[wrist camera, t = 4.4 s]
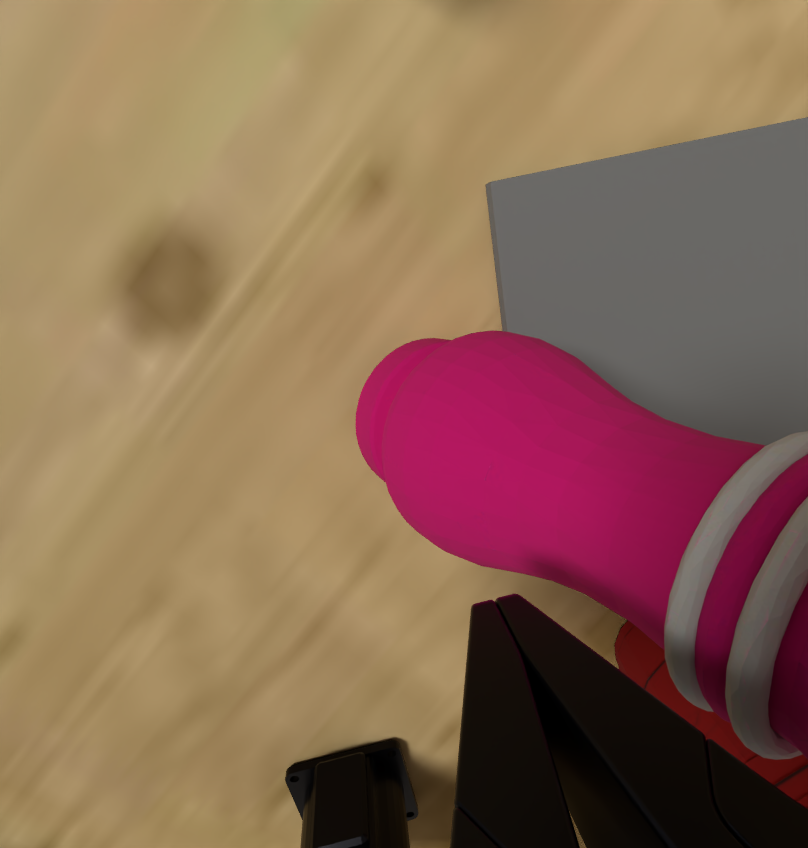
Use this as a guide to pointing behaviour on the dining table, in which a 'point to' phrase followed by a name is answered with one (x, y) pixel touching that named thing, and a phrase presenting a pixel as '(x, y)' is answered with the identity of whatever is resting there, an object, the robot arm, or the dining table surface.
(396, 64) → the dining table surface
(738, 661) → the pepper mill
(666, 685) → the plastic cup
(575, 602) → the dining table surface
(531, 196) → the mat
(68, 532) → the dining table surface
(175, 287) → the dining table surface
